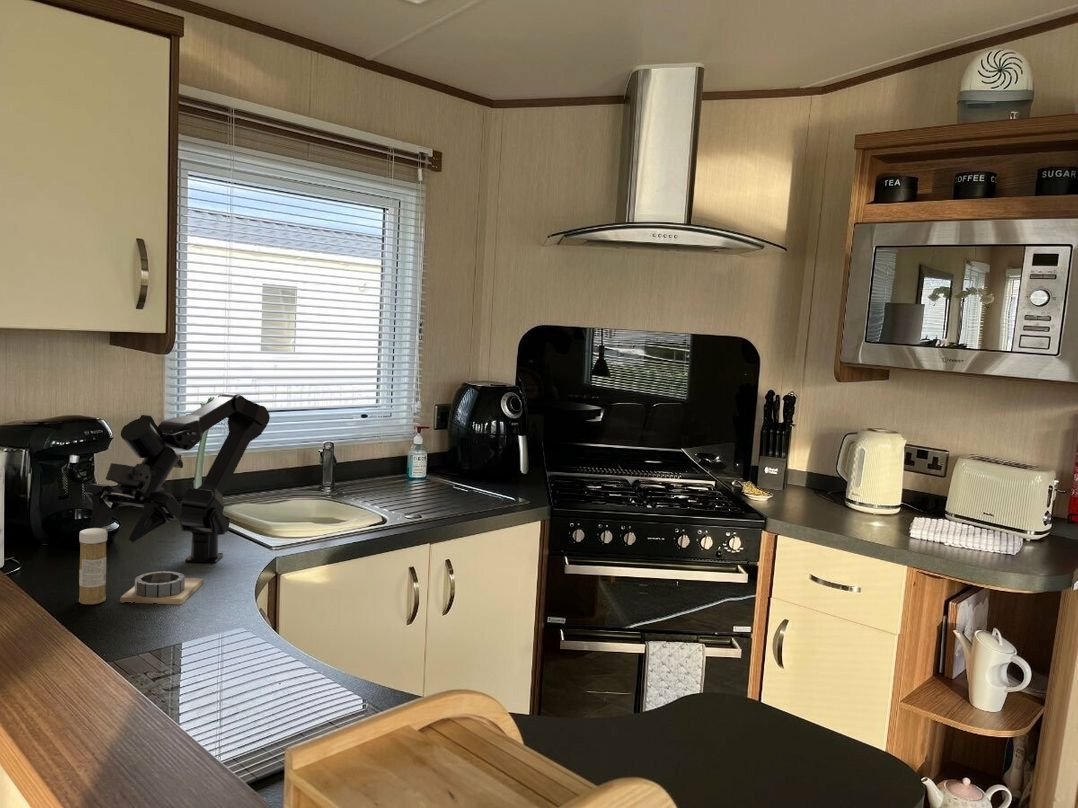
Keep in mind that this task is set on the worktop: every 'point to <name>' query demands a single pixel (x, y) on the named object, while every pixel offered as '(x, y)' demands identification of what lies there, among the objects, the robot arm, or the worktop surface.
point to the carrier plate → (190, 588)
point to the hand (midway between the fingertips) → (110, 538)
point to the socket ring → (159, 584)
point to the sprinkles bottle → (92, 565)
